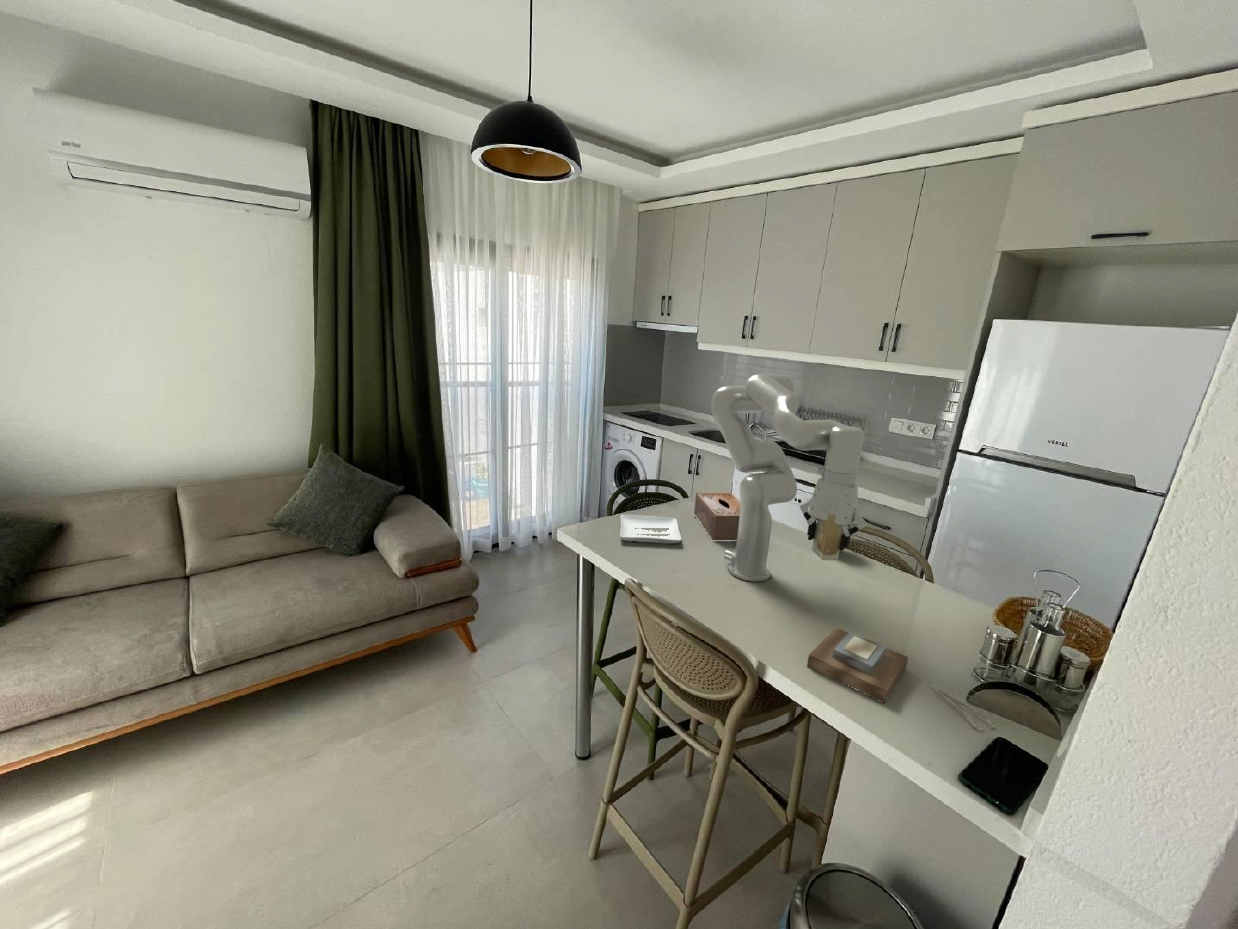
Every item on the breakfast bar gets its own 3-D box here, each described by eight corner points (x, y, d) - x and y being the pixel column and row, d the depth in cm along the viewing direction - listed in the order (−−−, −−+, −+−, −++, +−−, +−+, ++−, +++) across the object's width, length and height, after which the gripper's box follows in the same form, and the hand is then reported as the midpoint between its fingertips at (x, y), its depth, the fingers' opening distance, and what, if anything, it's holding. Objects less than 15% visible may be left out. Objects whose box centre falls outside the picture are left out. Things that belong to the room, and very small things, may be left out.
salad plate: (681, 548, 172) (682, 539, 171) (619, 545, 172) (619, 535, 171) (675, 525, 193) (676, 517, 192) (619, 522, 193) (620, 514, 192)
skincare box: (810, 549, 132) (818, 505, 128) (826, 550, 132) (834, 506, 129) (822, 561, 126) (830, 515, 122) (838, 561, 126) (848, 515, 123)
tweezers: (995, 730, 97) (997, 721, 97) (977, 735, 96) (979, 725, 96) (919, 677, 114) (920, 669, 113) (902, 680, 112) (903, 672, 112)
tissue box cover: (693, 516, 203) (696, 492, 201) (728, 516, 205) (731, 493, 203) (712, 542, 179) (715, 515, 176) (752, 542, 180) (755, 516, 178)
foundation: (806, 666, 113) (810, 646, 111) (833, 637, 124) (837, 619, 123) (884, 703, 102) (888, 681, 101) (905, 668, 114) (910, 648, 112)
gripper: (798, 471, 126) (787, 536, 131) (871, 489, 115) (857, 560, 120) (810, 466, 132) (799, 529, 136) (882, 483, 120) (867, 551, 125)
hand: (826, 543), depth 128 cm, fingers closed on skincare box, 7 cm apart
